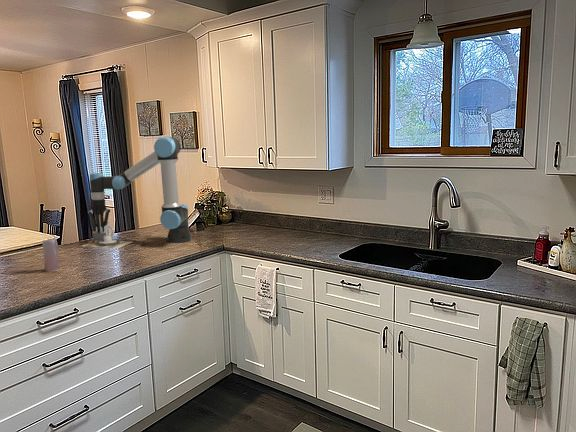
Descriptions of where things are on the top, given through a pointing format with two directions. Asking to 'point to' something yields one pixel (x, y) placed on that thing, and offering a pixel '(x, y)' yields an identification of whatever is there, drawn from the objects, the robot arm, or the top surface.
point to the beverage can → (50, 255)
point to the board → (122, 243)
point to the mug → (107, 229)
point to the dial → (103, 237)
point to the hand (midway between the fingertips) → (101, 237)
